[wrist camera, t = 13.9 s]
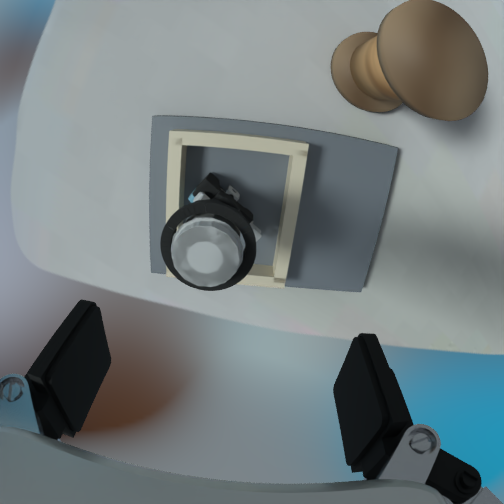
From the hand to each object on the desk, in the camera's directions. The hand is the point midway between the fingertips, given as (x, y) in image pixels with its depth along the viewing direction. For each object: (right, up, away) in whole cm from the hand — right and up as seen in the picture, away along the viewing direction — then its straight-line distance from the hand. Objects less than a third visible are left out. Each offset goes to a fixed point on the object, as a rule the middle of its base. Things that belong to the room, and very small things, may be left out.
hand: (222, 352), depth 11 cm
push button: (-1, +7, +15) cm, 17 cm away
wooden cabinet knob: (+11, +18, +10) cm, 24 cm away
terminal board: (+2, +7, +16) cm, 18 cm away
